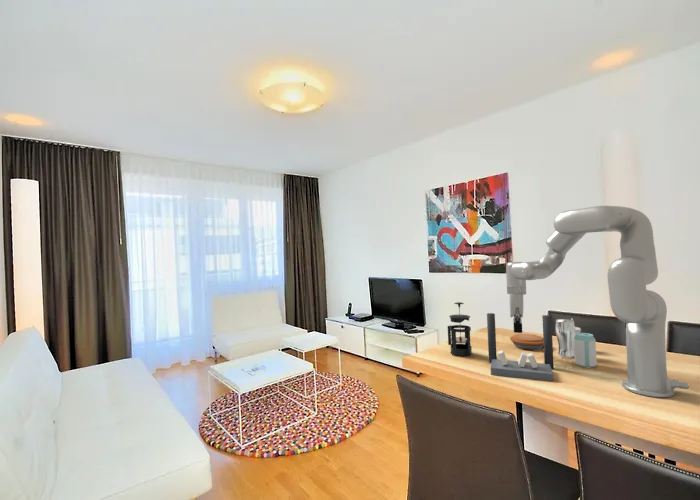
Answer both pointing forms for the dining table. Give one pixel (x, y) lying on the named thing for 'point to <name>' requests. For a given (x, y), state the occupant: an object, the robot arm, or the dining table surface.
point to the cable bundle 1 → (491, 336)
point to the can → (585, 350)
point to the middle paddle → (522, 359)
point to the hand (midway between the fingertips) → (517, 330)
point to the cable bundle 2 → (548, 340)
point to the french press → (460, 349)
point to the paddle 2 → (532, 360)
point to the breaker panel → (522, 370)
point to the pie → (527, 341)
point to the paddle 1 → (502, 357)
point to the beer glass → (565, 337)
